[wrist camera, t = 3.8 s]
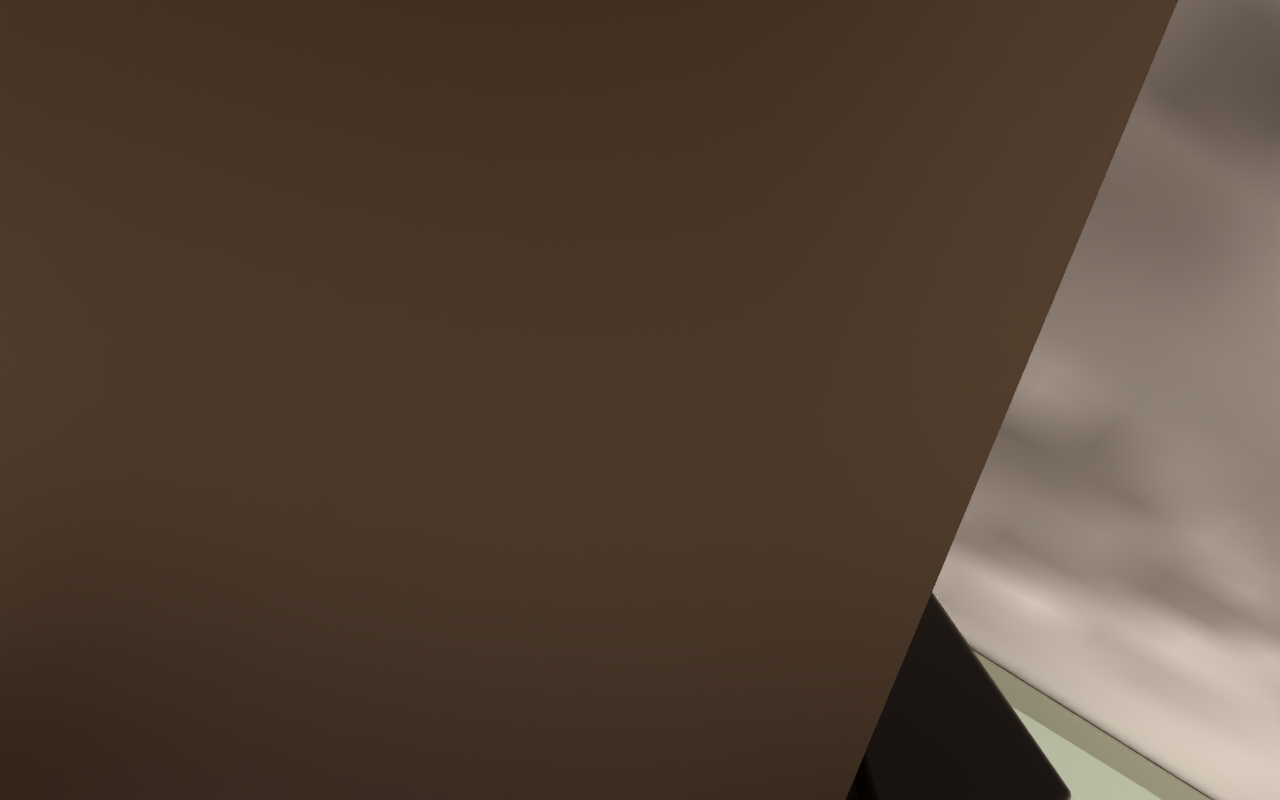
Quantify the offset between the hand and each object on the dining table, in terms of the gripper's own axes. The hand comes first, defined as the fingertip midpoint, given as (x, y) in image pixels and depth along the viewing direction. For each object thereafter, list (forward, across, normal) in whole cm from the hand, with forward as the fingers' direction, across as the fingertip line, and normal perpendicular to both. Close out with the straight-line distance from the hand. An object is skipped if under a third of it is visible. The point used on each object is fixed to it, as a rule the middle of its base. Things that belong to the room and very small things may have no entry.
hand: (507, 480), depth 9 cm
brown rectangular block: (+1, 0, 0) cm, 1 cm away
